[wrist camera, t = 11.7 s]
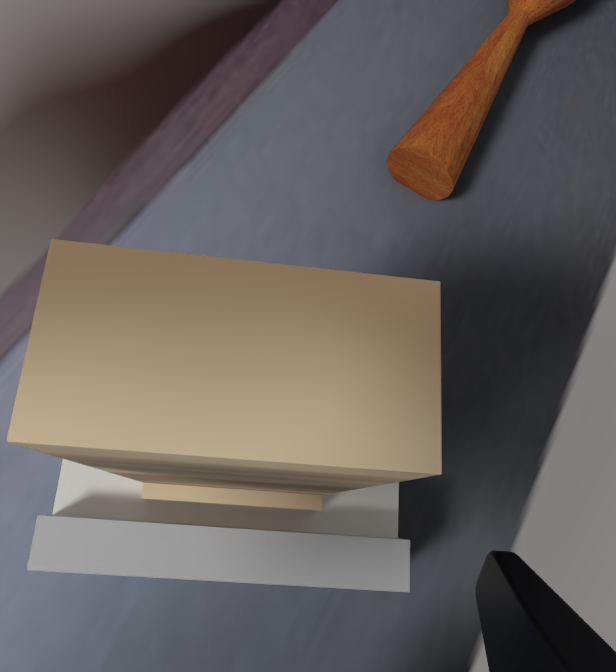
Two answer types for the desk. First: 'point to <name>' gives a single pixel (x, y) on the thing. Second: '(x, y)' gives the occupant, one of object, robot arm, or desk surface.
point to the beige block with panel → (231, 375)
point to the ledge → (131, 503)
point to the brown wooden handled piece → (462, 107)
